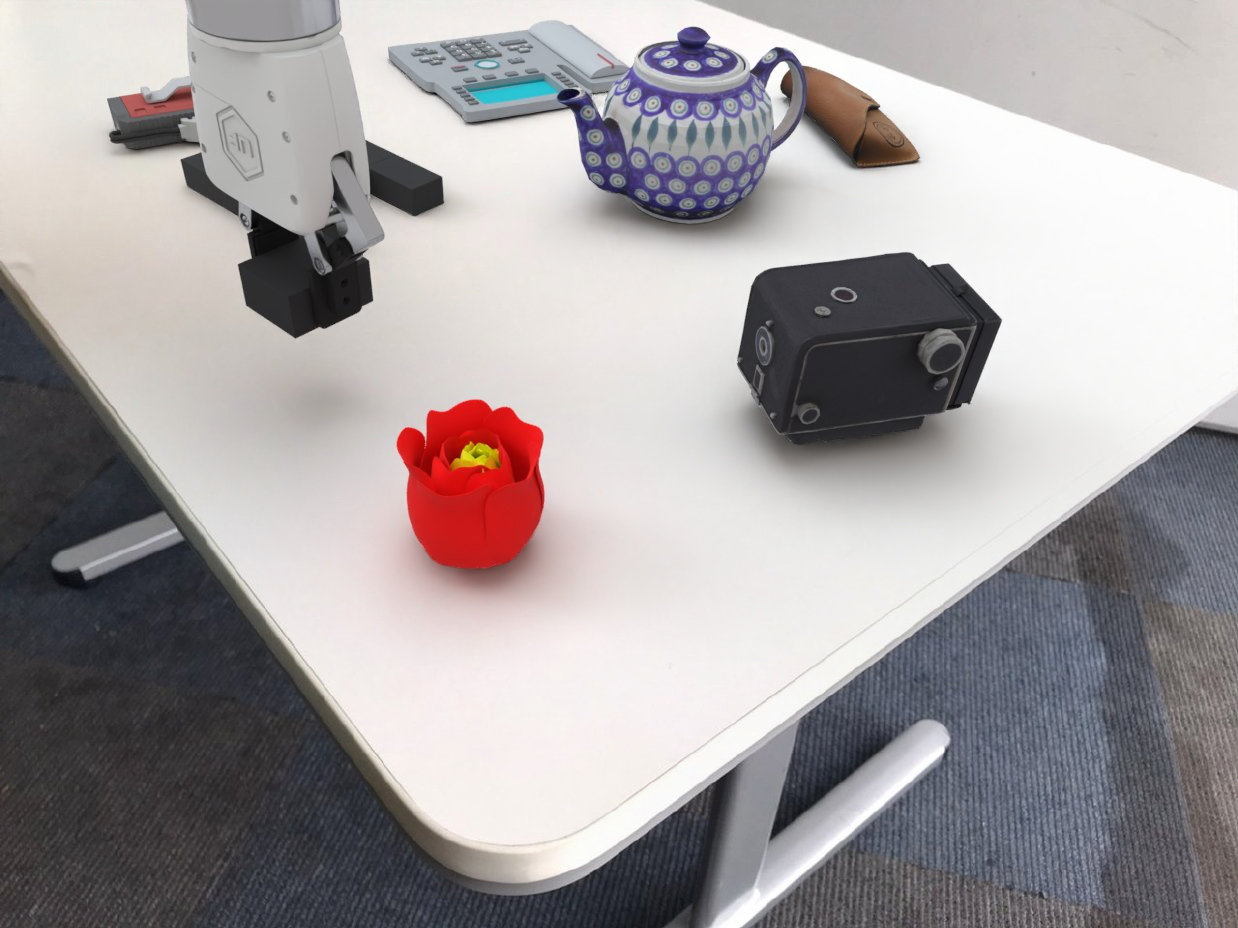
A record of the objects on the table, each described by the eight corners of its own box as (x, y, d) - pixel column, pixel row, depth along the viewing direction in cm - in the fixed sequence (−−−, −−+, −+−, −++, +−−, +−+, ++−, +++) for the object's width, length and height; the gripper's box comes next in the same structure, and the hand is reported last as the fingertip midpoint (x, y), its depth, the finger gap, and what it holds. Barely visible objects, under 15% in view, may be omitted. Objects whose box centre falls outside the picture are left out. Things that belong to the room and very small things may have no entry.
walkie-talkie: (119, 164, 92) (334, 126, 101) (105, 117, 89) (327, 82, 98) (100, 127, 98) (305, 94, 106) (86, 81, 95) (298, 51, 103)
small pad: (295, 339, 61) (288, 296, 59) (245, 305, 64) (237, 264, 62) (373, 301, 65) (369, 260, 63) (324, 271, 67) (318, 230, 65)
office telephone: (570, 12, 122) (658, 70, 110) (570, 34, 124) (656, 94, 111) (385, 34, 113) (457, 101, 100) (387, 58, 114) (458, 127, 102)
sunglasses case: (928, 157, 101) (911, 103, 96) (866, 196, 102) (846, 144, 97) (846, 88, 114) (828, 37, 109) (791, 123, 115) (771, 74, 110)
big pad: (314, 260, 82) (310, 232, 80) (186, 186, 90) (179, 159, 88) (444, 202, 90) (442, 176, 88) (316, 139, 98) (312, 114, 97)
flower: (409, 598, 56) (396, 493, 51) (407, 502, 62) (394, 398, 56) (551, 585, 57) (552, 481, 52) (536, 492, 63) (536, 389, 58)
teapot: (751, 143, 103) (775, -14, 93) (840, 212, 93) (876, 44, 83) (520, 182, 94) (518, 12, 84) (590, 263, 84) (597, 81, 74)
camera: (781, 500, 65) (990, 446, 68) (795, 360, 57) (1030, 305, 60) (721, 399, 73) (911, 354, 75) (726, 262, 65) (938, 218, 67)
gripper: (103, -32, 53) (178, 269, 66) (307, 65, 46) (349, 384, 58) (228, -56, 58) (276, 230, 70) (432, 28, 50) (447, 332, 63)
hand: (309, 297), depth 64 cm, fingers closed on small pad, 5 cm apart
